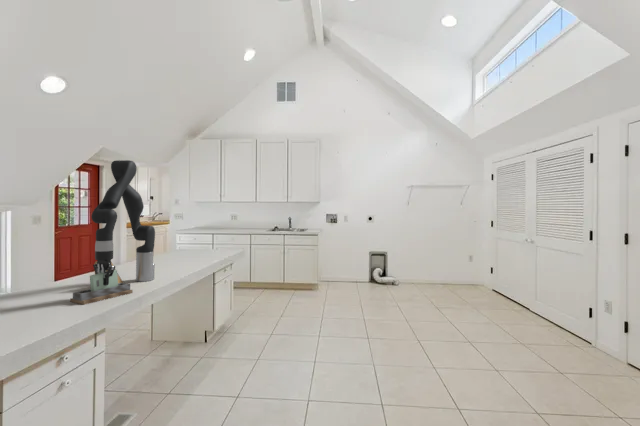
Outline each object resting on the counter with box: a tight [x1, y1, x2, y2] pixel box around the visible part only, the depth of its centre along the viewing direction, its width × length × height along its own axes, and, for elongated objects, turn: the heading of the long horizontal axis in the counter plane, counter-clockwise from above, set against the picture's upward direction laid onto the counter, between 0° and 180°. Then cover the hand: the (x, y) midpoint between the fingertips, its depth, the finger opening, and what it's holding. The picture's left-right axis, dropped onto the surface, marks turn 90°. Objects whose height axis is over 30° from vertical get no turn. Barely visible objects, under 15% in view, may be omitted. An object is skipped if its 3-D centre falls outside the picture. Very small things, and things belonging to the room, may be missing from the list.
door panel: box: [89, 269, 118, 292], centre depth 164 cm, size 12×3×10 cm, turn 157°
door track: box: [69, 282, 133, 305], centre depth 163 cm, size 24×10×4 cm, turn 157°
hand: (103, 284), depth 164 cm, fingers closed on door panel, 2 cm apart
